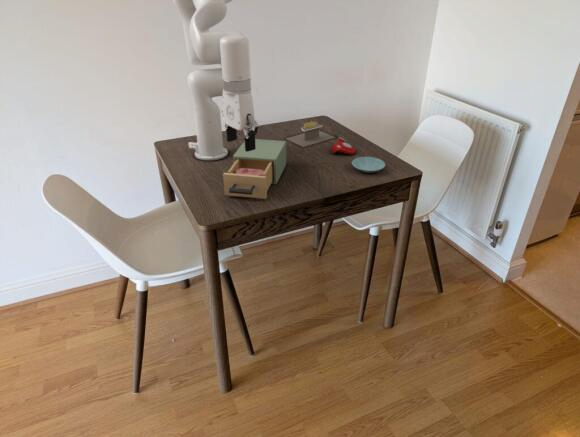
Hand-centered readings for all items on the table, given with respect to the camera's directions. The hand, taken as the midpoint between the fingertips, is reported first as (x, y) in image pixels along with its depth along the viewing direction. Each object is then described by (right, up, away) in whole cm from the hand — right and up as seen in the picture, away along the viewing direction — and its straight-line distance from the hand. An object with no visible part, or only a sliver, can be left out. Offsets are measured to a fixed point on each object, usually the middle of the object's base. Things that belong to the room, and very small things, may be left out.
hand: (241, 145), depth 123 cm
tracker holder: (+35, +6, +45) cm, 58 cm away
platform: (+23, +13, +57) cm, 62 cm away
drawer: (+1, -12, +15) cm, 19 cm away
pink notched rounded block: (+1, -10, +15) cm, 18 cm away
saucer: (+42, -4, +30) cm, 52 cm away
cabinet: (+4, -5, +28) cm, 28 cm away
